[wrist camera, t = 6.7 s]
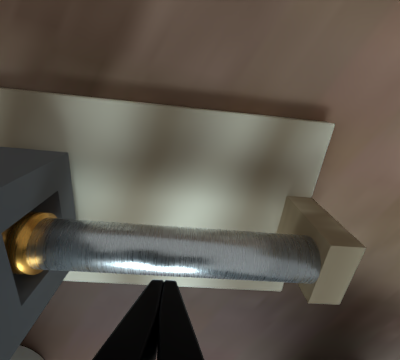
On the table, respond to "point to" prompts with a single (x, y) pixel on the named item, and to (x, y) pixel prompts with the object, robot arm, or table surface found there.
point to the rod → (158, 250)
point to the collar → (12, 212)
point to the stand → (188, 175)
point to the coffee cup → (25, 354)
